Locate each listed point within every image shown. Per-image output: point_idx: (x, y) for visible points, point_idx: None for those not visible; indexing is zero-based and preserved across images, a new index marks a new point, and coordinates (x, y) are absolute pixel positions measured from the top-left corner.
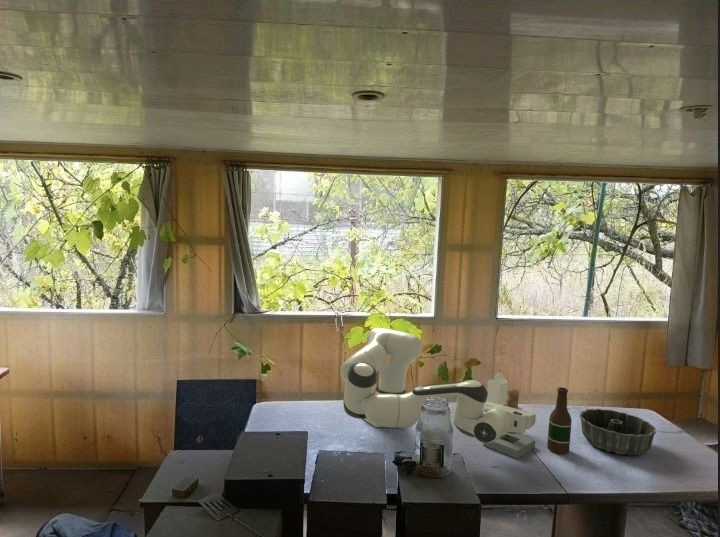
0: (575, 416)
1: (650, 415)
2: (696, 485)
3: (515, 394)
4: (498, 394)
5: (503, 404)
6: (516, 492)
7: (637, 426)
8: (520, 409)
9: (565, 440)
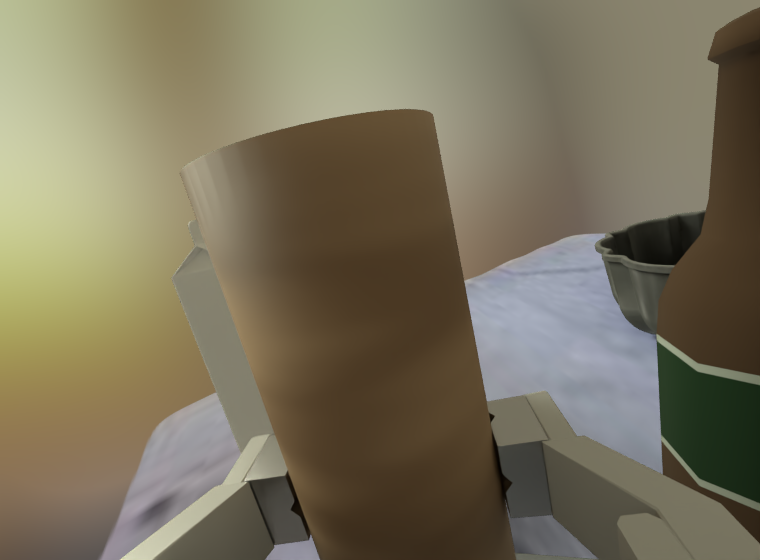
0: (508, 294)
1: (602, 235)
2: None
3: (402, 176)
4: None
5: (250, 474)
6: None
7: None
8: (614, 471)
9: None
